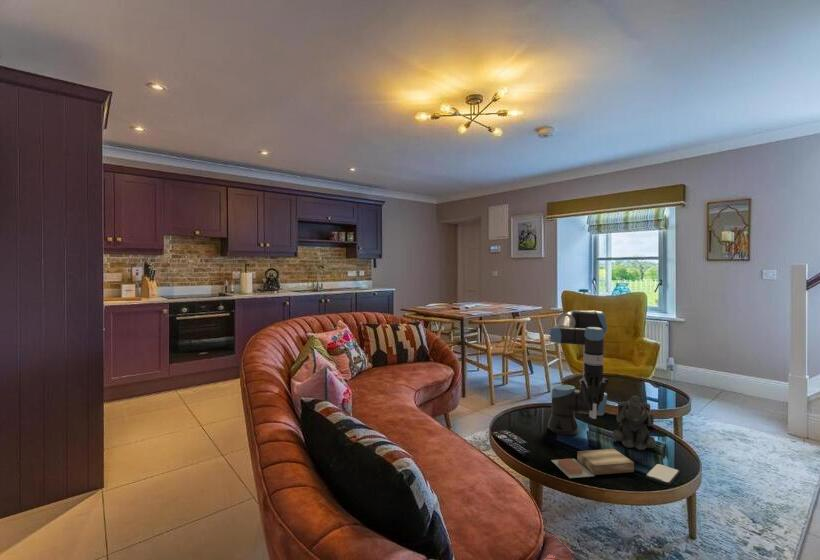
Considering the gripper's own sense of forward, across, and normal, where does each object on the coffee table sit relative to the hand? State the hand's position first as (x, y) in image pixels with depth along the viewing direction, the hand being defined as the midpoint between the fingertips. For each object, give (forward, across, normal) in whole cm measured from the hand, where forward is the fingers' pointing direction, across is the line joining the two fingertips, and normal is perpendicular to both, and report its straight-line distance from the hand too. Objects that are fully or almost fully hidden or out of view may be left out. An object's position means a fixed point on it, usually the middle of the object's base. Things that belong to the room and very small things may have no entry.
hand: (592, 417), depth 172 cm
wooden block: (+21, +6, 0) cm, 22 cm away
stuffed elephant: (+22, +34, +19) cm, 45 cm away
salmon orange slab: (+19, -11, -1) cm, 22 cm away
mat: (+21, -10, 0) cm, 23 cm away
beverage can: (+23, +52, +35) cm, 67 cm away
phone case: (+22, +25, -11) cm, 35 cm away
